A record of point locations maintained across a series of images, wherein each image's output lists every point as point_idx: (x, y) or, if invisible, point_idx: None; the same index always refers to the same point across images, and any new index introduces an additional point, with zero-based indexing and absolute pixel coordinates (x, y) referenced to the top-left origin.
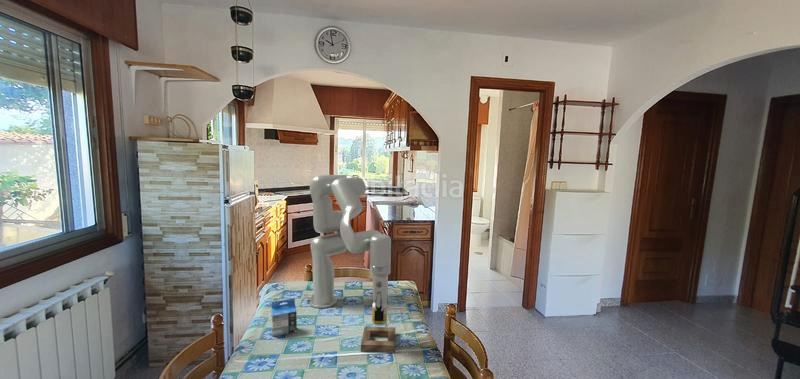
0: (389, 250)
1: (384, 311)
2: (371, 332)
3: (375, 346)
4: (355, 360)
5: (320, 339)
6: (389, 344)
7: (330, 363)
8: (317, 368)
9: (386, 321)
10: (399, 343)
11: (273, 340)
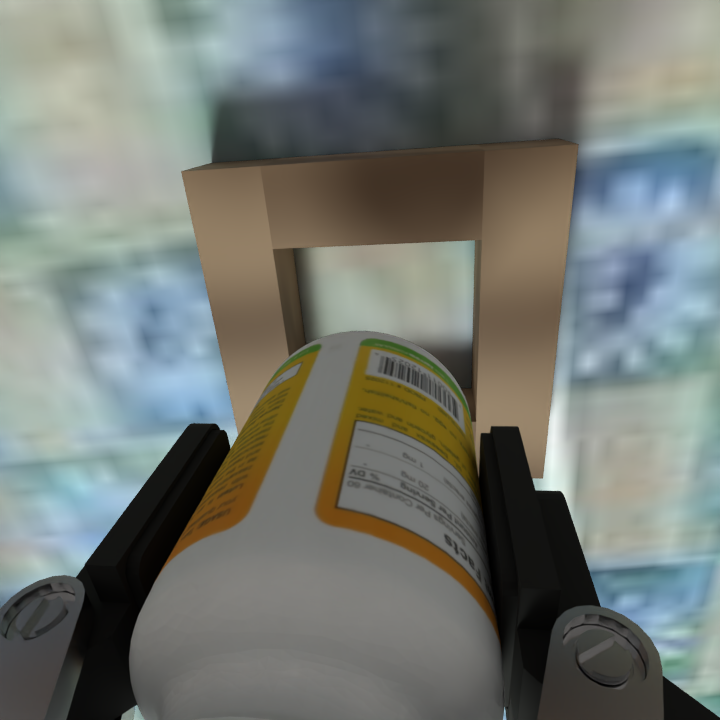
0: None
1: (444, 510)
2: None
3: (552, 352)
4: (652, 463)
5: None
6: (551, 213)
7: (664, 595)
8: (706, 646)
9: (383, 341)
10: (389, 95)
11: None
